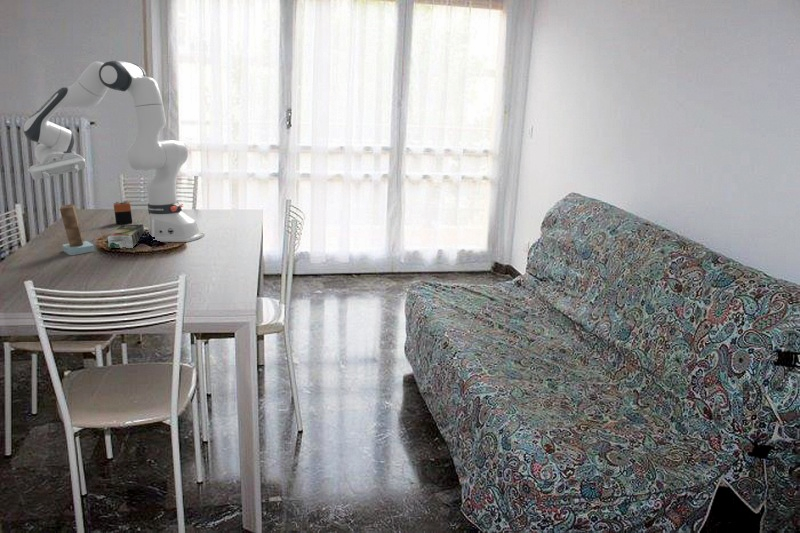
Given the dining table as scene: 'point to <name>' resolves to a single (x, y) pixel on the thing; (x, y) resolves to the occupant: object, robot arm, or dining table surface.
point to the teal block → (78, 248)
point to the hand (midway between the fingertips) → (63, 173)
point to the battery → (122, 213)
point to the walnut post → (71, 225)
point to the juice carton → (125, 236)
